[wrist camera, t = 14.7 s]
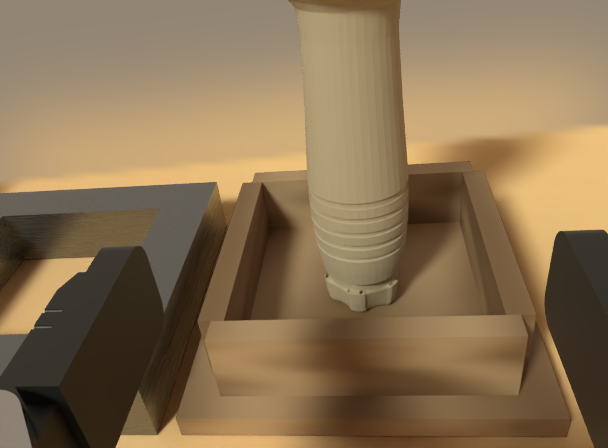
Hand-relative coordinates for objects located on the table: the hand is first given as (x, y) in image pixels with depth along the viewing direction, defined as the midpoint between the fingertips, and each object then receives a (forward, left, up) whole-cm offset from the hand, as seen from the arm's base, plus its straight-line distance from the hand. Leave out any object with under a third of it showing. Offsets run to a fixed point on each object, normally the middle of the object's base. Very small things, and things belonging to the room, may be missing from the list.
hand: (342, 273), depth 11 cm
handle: (0, -11, -10) cm, 15 cm away
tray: (0, -11, -11) cm, 16 cm away
